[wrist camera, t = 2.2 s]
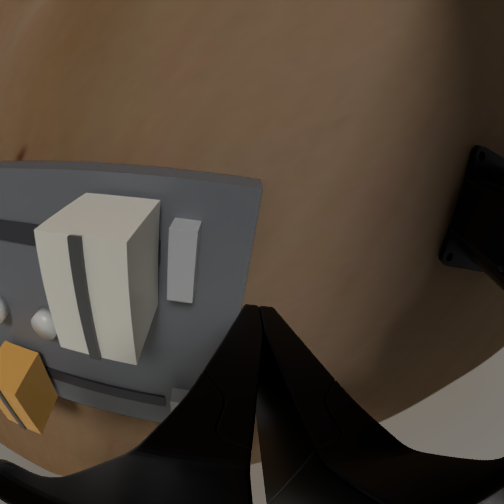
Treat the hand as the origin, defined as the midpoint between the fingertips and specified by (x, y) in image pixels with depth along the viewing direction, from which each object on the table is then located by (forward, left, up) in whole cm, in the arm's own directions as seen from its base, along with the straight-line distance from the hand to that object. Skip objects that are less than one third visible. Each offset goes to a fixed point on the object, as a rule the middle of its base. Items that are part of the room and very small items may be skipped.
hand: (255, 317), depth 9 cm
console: (+10, +5, -5) cm, 12 cm away
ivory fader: (+5, 0, -3) cm, 6 cm away
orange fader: (+13, +10, -3) cm, 17 cm away
